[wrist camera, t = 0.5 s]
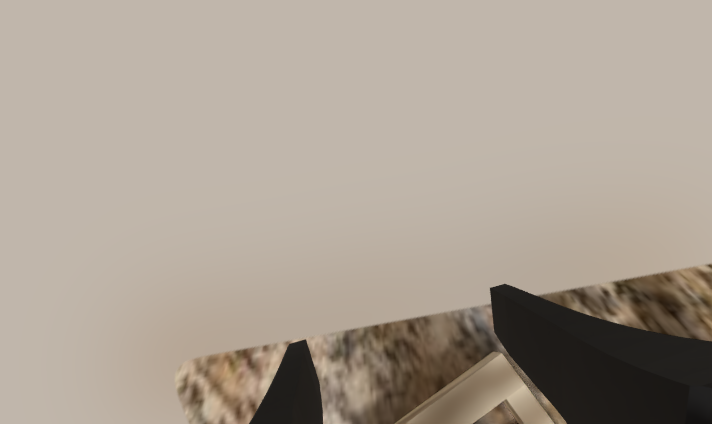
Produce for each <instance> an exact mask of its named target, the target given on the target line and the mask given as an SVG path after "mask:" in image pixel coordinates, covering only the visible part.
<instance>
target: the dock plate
mask: <svg viewBox="0 0 712 424" xmlns="http://www.w3.org/2000/svg"><path fill="white" fill-rule="evenodd" d="M502 401H503V402H504V404H505V405H506V406H507V408H508V409H509V411H510V412H511V413H512V415H513V416H514V418H515V419H516V420H517V422H518V423H519V424H554V422H553V421H552V420H551V418H550V417H549V416H548V414H547V413H546V412H545V410H544V409H543V408H542V406H541V405H540V404H539V402H538V401H537V400H536V398H535V397H534V396H533V394H532V393H531V392H530V390H529V389H528V388H527V386H526V385H525V384H524V382H523V381H522V380H521V378H520V377H519V376H518V374H517V373H516V372H515V370H514V369H513V367H512V366H511V365H510V363H509V362H508V361H507V359H506V358H505V357H504V355H503V354H502V353H499V352H494V351H493V352H492V353H490V354H489V355H488V356H486V357H485V358H483V359H482V360H481V361H479V362H478V363H477V364H475V365H474V366H473V367H471V368H470V369H468V370H467V371H466V372H464V373H463V374H462V375H460V376H459V377H457V378H456V379H455V380H453V381H452V382H451V383H449V384H448V385H446V386H445V387H444V388H442V389H441V390H440V391H438V392H437V393H436V394H434V395H433V396H431V397H430V398H429V399H427V400H426V401H425V402H423V403H422V404H420V405H419V406H418V407H416V408H415V409H414V410H412V411H411V412H409V413H408V414H407V415H405V416H404V417H403V418H401V419H400V420H398V421H397V422H396V423H394V424H473V423H474V422H476V421H477V420H478V419H480V418H481V417H482V416H484V415H485V414H486V413H488V412H489V411H490V410H492V409H493V408H494V407H496V406H497V405H498V404H500V403H501V402H502Z"/></svg>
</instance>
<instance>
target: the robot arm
mask: <svg viewBox="0 0 712 424" xmlns="http://www.w3.org/2000/svg"><path fill="white" fill-rule="evenodd" d="M490 293H491V303H492V313H493V323H494V332H495V334H496V335H497V337H498V338H499V340H500V342H501V343H502V345H503V346H504V348H505V349H506V350H507V352H508V353H509V355H510V356H511V357H512V358H513V360H514V361H515V362H516V363H517V364H518V366H519V367H520V368H521V369H522V370H523V371H524V373H525V374H526V375H527V376H528V377H529V378H530V379H531V381H532V382H533V383H534V384H535V385H536V386H537V387H538V389H539V390H540V391H541V392H542V393H543V394H544V396H545V397H546V398H547V399H548V400H549V401H550V402H551V404H552V405H553V406H554V407H555V408H556V410H557V411H558V412H559V413H560V415H561V416H562V417H563V418H564V420H565V421H566V423H567V424H712V342H710V341H703V340H697V339H690V338H683V337H677V336H671V335H666V334H661V333H656V332H651V331H646V330H641V329H637V328H632V327H628V326H624V325H621V324H617V323H613V322H609V321H606V320H602V319H599V318H596V317H592V316H589V315H586V314H583V313H580V312H577V311H574V310H572V309H569V308H566V307H563V306H561V305H558V304H555V303H553V302H550V301H548V300H545V299H543V298H540V297H538V296H535V295H533V294H530V293H528V292H525V291H523V290H520V289H518V288H515V287H512V286H510V285H507V284H503V285H499V286H496V287H492V288H490ZM249 424H323V409H322V400H321V392H320V384H319V380H318V377H317V374H316V370H315V367H314V364H313V361H312V358H311V354H310V351H309V348H308V345H307V341H306V340H302V341H298V342H295V343H291V344H289V346H288V347H287V350H286V352H285V354H284V357H283V359H282V362H281V364H280V366H279V368H278V371H277V373H276V375H275V377H274V379H273V381H272V383H271V385H270V387H269V389H268V391H267V393H266V395H265V397H264V399H263V400H262V402H261V404H260V406H259V408H258V409H257V411H256V413H255V415H254V416H253V418H252V420H251V421H250V423H249Z"/></svg>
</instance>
